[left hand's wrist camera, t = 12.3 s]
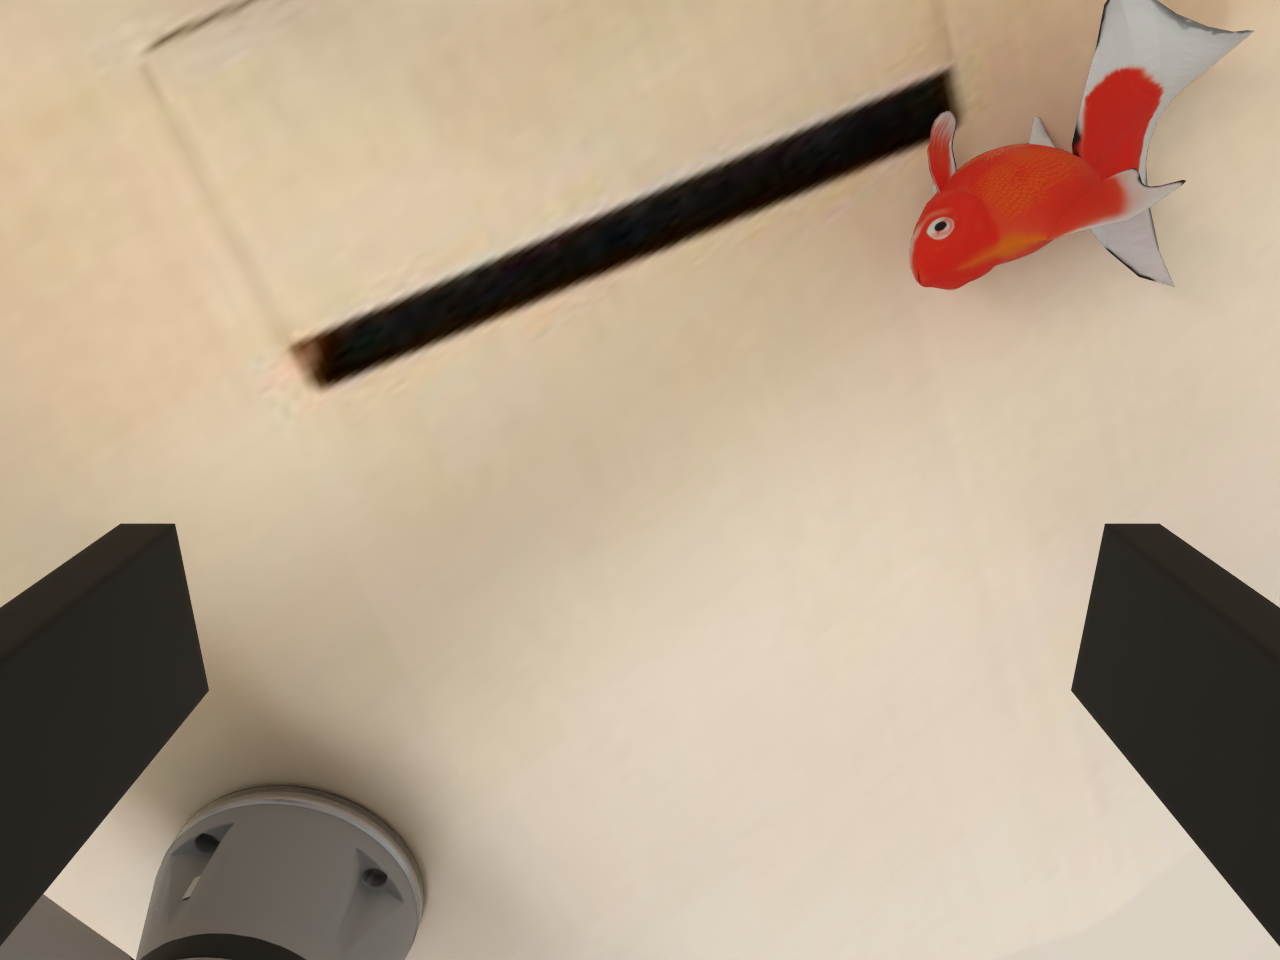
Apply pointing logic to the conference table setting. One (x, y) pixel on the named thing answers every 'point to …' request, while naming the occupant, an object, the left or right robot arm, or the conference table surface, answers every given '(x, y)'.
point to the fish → (1070, 159)
